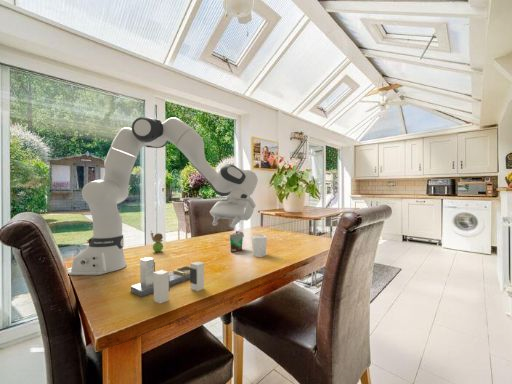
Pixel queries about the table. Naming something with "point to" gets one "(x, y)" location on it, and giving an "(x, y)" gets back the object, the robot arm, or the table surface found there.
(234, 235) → the food container
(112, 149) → the robot arm
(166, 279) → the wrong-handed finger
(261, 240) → the white cup
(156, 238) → the snail figurine
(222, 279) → the table surface
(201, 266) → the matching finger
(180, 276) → the rail
